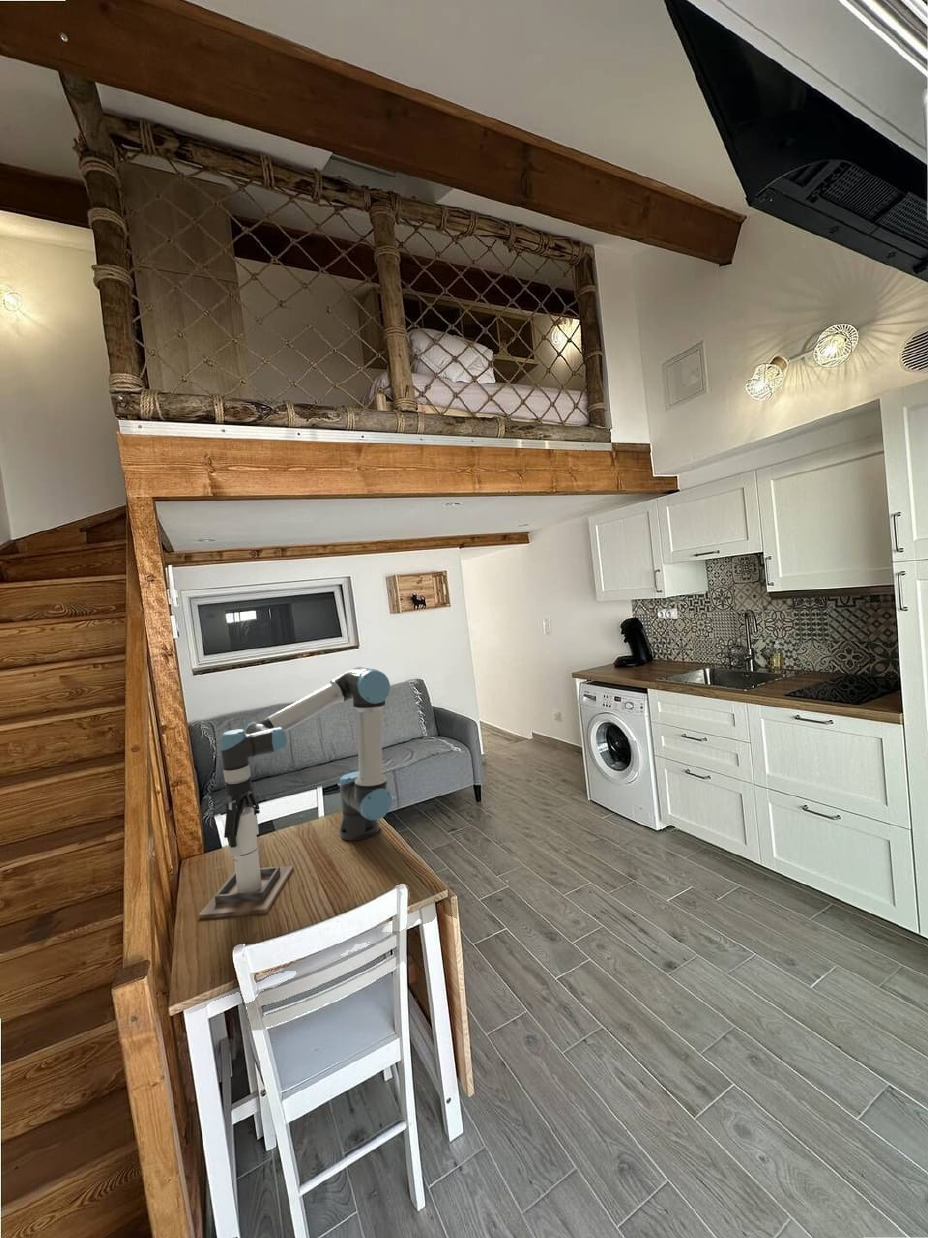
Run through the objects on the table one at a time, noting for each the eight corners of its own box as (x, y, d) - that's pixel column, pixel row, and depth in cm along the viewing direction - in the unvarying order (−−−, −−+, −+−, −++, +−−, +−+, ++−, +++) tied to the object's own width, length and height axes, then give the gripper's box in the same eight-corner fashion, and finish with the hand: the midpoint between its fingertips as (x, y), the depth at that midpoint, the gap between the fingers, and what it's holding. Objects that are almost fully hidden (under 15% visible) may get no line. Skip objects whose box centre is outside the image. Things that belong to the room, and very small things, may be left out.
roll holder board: (293, 869, 172) (292, 858, 172) (266, 913, 149) (265, 901, 148) (235, 874, 172) (234, 863, 172) (199, 919, 148) (197, 906, 148)
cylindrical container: (252, 895, 156) (244, 817, 155) (232, 894, 158) (224, 816, 157) (266, 882, 163) (258, 807, 162) (246, 881, 165) (238, 807, 164)
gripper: (243, 767, 171) (250, 827, 172) (206, 797, 146) (214, 867, 147) (265, 765, 171) (272, 825, 172) (231, 794, 146) (240, 865, 147)
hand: (245, 845), depth 160 cm, fingers open, 13 cm apart
